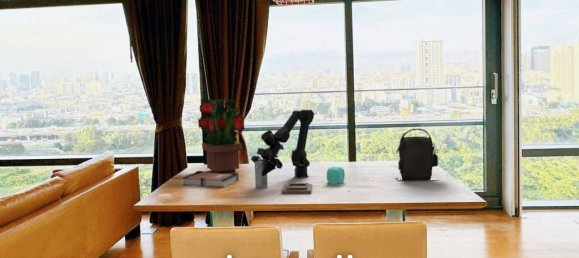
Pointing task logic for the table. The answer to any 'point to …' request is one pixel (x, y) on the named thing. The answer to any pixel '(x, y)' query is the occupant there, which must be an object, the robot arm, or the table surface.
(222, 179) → the book
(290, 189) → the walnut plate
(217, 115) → the potted plant
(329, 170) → the decorative dice
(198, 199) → the table surface
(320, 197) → the table surface
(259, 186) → the block
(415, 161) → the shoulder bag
